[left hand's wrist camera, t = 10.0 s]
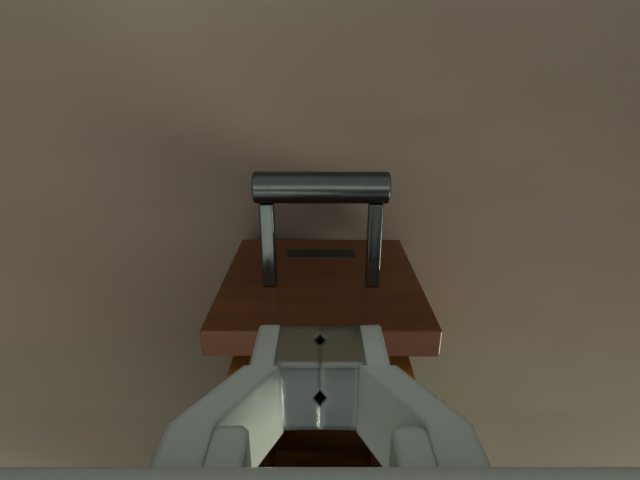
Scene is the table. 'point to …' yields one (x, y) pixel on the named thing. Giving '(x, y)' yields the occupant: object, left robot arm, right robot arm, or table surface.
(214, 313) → the drawer
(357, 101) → the table surface
